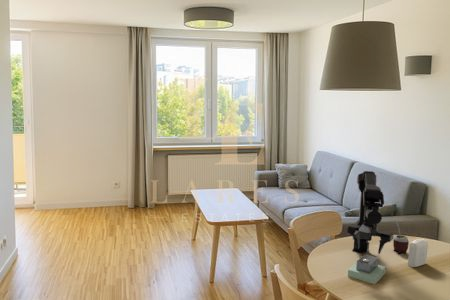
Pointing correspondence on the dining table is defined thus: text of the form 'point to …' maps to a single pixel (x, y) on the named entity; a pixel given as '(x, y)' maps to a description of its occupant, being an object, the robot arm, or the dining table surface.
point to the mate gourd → (400, 243)
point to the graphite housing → (367, 263)
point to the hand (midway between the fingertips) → (368, 251)
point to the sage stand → (367, 274)
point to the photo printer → (418, 253)
